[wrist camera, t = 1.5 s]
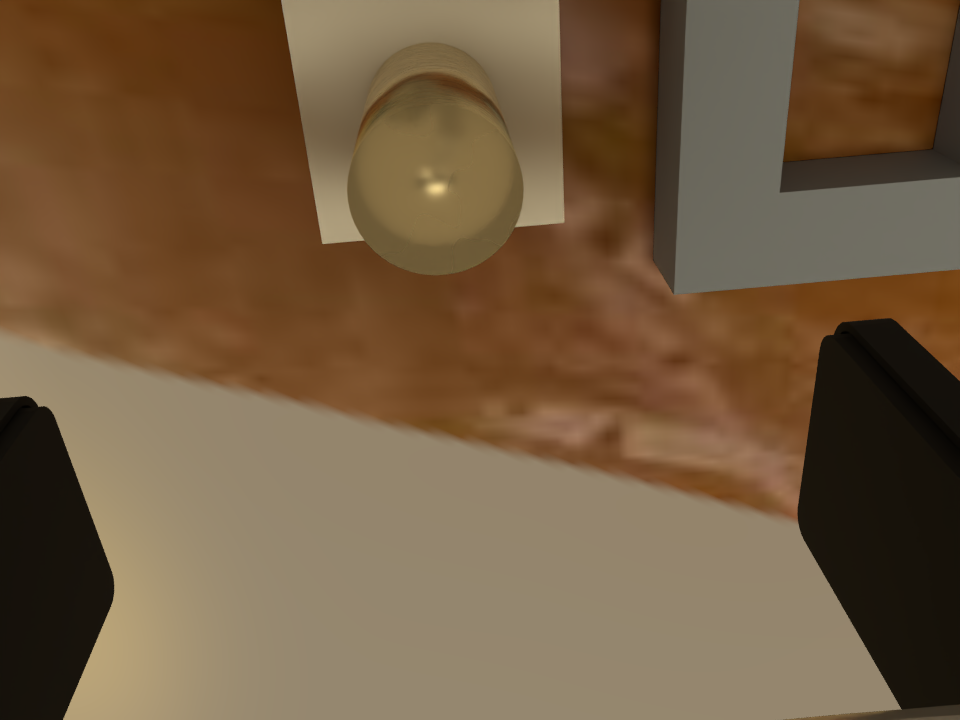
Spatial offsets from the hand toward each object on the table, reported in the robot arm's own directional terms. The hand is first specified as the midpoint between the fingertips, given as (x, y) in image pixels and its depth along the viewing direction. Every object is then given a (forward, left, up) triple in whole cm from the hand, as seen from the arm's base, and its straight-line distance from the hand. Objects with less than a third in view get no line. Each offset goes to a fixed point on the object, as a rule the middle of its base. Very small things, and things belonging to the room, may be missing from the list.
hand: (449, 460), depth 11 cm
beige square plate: (0, 0, -20) cm, 20 cm away
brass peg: (0, 0, -18) cm, 18 cm away
